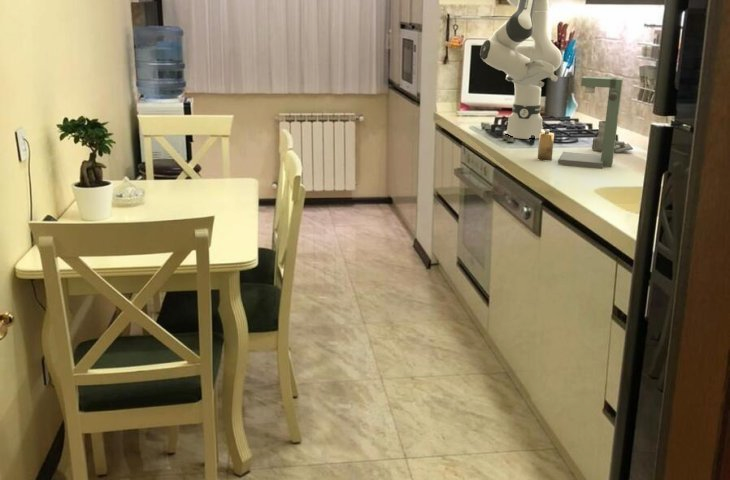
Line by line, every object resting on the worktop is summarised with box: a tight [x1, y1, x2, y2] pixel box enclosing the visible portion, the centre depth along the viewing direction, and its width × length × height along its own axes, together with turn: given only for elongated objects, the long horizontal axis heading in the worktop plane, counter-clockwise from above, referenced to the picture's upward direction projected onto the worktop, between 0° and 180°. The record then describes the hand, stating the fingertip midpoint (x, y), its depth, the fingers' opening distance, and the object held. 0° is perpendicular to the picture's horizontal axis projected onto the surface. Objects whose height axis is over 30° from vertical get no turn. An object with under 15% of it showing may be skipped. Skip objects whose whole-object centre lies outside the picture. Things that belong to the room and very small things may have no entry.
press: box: [557, 75, 624, 169], centre depth 277 cm, size 20×19×32 cm
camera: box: [591, 120, 634, 154], centre depth 303 cm, size 9×12×15 cm
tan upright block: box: [537, 128, 555, 161], centre depth 288 cm, size 5×5×12 cm
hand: (549, 82), depth 284 cm, fingers open, 8 cm apart
